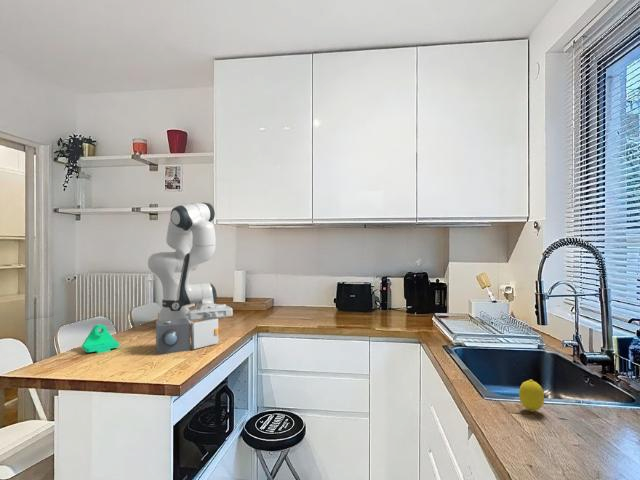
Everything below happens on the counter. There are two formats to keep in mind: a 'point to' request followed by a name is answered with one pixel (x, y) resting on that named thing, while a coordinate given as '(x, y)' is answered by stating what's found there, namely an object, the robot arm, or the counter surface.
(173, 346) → the camera housing
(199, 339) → the side door
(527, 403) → the lemon
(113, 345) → the camera mount
